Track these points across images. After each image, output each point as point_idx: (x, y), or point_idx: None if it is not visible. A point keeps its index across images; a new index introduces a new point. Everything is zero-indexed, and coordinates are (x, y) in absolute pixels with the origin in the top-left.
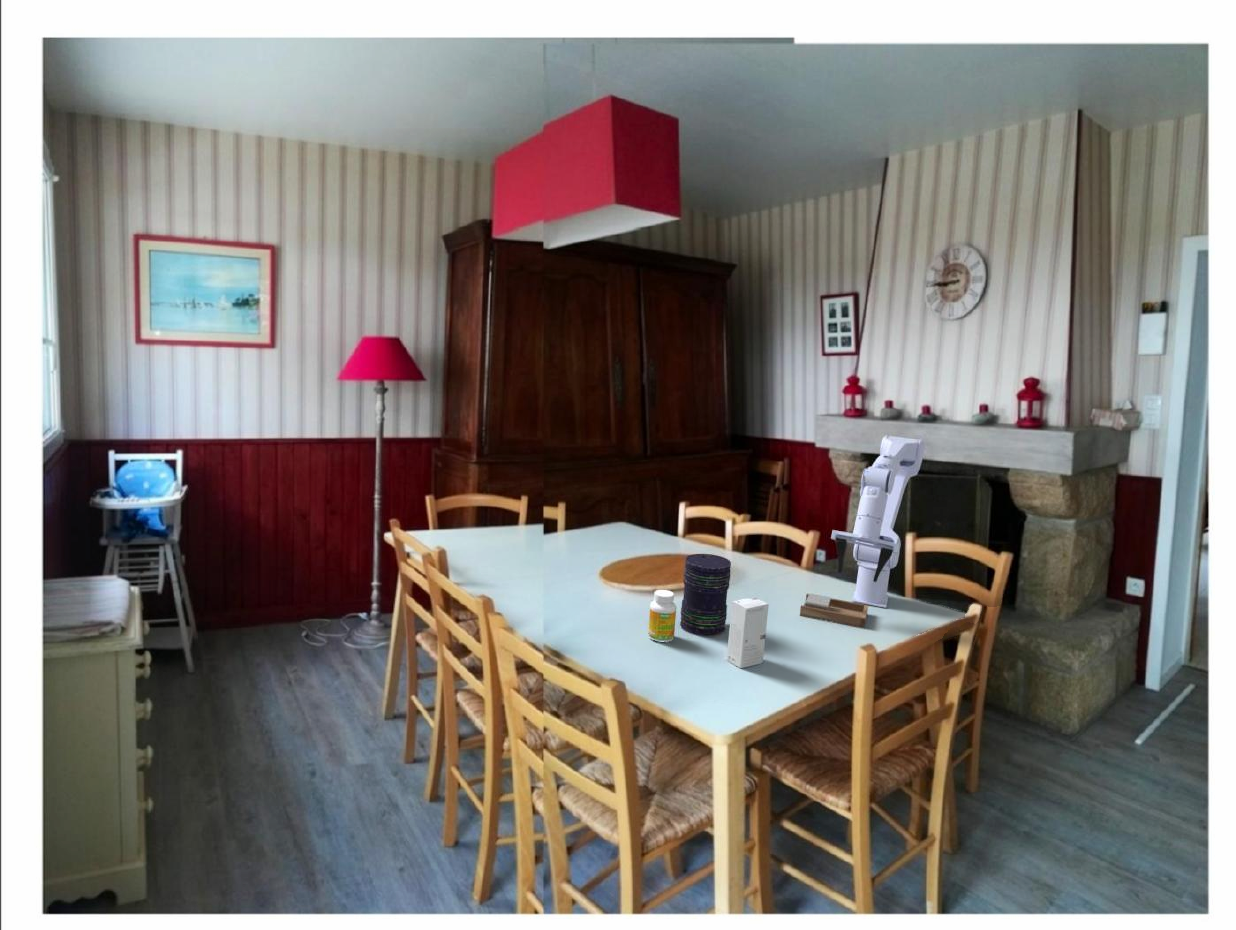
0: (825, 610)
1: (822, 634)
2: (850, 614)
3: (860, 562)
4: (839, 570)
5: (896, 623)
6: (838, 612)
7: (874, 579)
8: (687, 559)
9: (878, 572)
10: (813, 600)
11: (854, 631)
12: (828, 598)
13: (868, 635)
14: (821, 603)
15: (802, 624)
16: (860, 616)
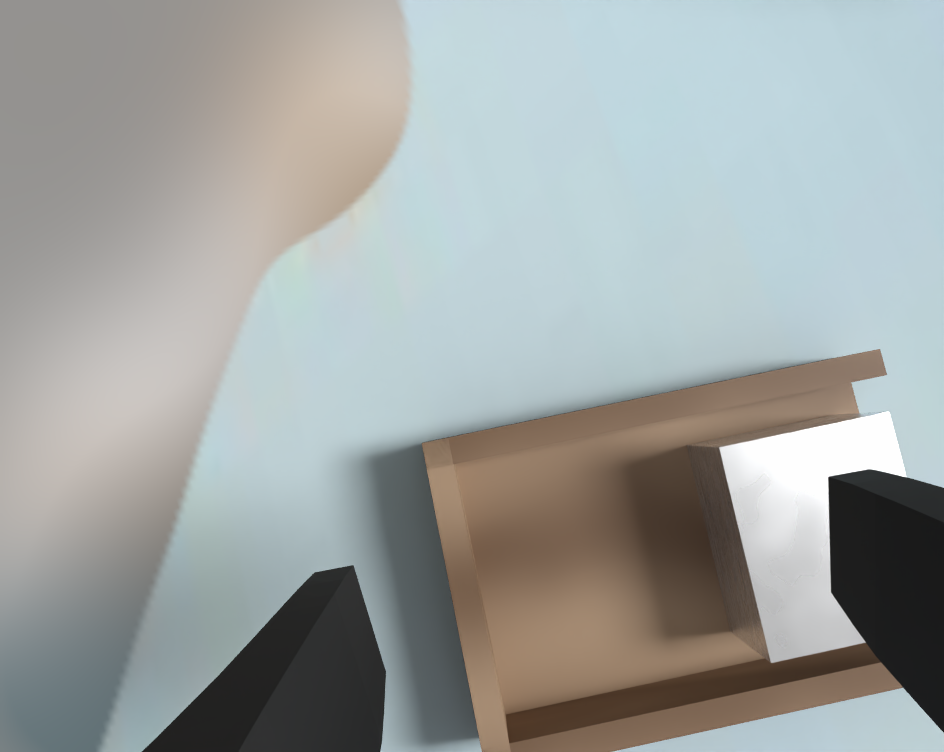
0: (708, 402)
1: (603, 161)
2: (567, 600)
3: None
4: (881, 479)
5: None
6: (647, 573)
7: (336, 575)
8: None
9: (255, 654)
10: None
11: (462, 348)
12: (778, 618)
13: (372, 346)
14: (777, 457)
15: (758, 227)
16: (499, 612)
